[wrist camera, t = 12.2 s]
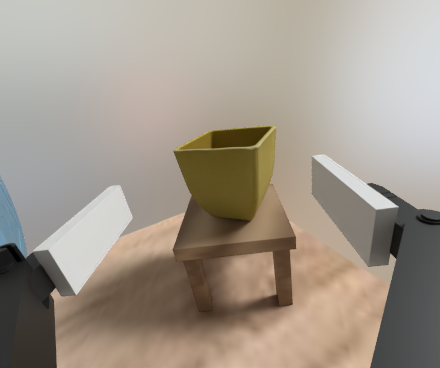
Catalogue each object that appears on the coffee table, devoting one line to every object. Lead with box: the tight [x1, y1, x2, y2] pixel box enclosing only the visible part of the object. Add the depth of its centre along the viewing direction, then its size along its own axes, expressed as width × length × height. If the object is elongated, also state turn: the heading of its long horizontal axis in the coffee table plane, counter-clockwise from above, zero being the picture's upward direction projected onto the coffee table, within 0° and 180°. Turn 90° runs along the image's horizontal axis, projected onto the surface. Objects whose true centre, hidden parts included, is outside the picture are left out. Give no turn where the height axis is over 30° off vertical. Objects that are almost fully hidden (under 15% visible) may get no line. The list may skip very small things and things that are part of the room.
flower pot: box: [174, 126, 276, 220], centre depth 25 cm, size 9×9×9 cm
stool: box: [173, 184, 296, 312], centre depth 28 cm, size 12×12×10 cm
